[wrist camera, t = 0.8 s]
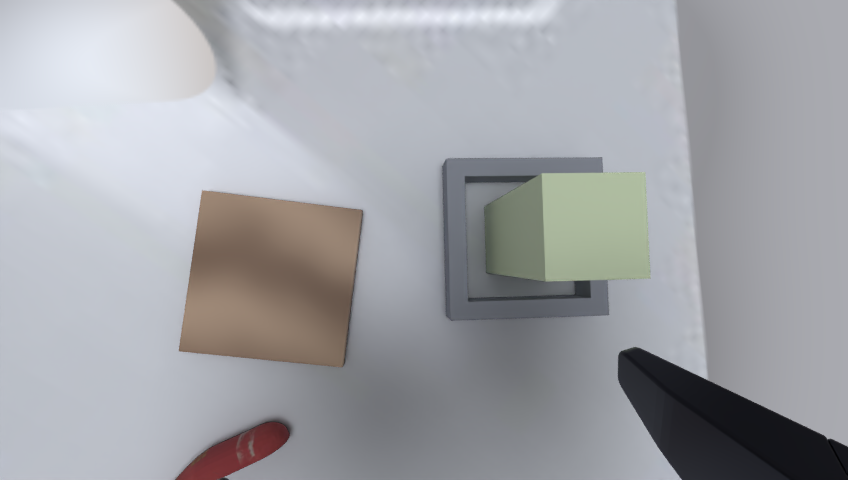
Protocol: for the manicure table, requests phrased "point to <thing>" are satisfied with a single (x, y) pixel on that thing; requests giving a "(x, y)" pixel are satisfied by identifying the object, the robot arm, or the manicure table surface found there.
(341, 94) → the manicure table surface
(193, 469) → the pliers
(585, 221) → the olive block
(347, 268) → the walnut pad
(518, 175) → the gray square frame
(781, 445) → the robot arm
